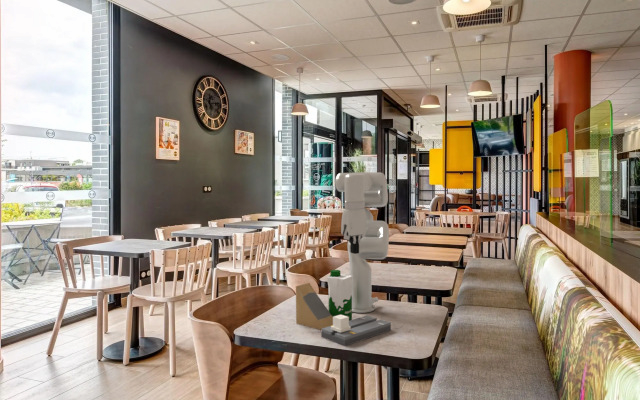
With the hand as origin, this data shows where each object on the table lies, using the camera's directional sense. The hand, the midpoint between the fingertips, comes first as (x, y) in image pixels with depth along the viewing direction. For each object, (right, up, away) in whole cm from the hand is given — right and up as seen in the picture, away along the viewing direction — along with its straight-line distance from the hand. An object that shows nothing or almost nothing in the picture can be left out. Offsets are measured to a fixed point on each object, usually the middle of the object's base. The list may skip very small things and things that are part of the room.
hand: (354, 253), depth 177 cm
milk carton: (-5, -28, +5) cm, 29 cm away
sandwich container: (-14, -28, +1) cm, 32 cm away
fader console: (0, -28, -10) cm, 30 cm away
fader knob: (-6, -26, -16) cm, 31 cm away
